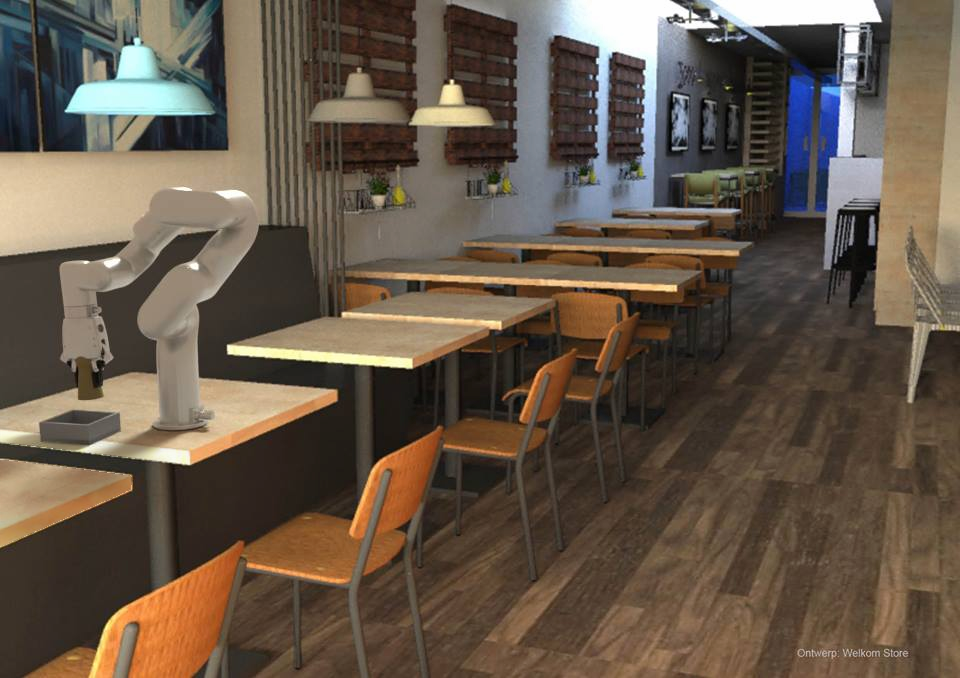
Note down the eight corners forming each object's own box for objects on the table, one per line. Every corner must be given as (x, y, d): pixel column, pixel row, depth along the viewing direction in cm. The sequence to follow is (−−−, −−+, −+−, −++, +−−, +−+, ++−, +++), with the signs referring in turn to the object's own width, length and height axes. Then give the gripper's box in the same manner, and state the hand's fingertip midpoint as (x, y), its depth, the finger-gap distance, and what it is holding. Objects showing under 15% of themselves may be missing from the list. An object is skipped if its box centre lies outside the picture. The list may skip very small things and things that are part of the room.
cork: (76, 401, 259) (71, 356, 257) (78, 396, 264) (73, 352, 263) (103, 398, 260) (98, 353, 258) (104, 393, 266) (99, 350, 264)
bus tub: (120, 430, 254) (119, 412, 253) (89, 445, 242) (88, 425, 241) (73, 427, 257) (72, 409, 256) (40, 441, 245) (39, 422, 244)
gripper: (120, 309, 260) (129, 383, 263) (60, 310, 264) (69, 383, 267) (103, 314, 253) (111, 390, 256) (41, 315, 257) (50, 390, 260)
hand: (89, 386), depth 262 cm, fingers closed on cork, 3 cm apart
